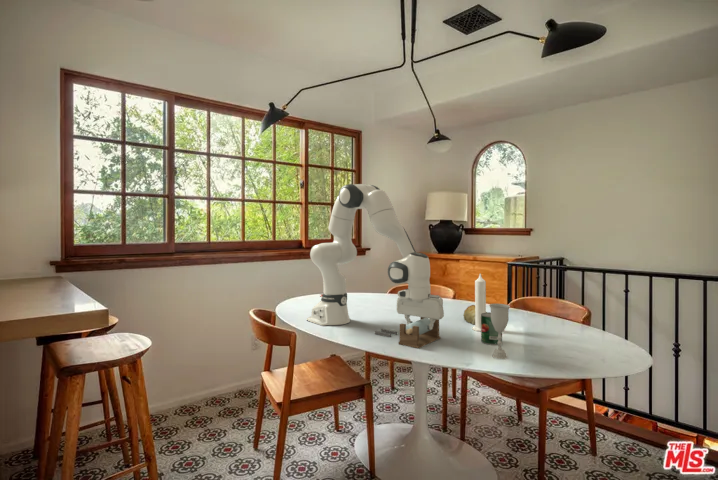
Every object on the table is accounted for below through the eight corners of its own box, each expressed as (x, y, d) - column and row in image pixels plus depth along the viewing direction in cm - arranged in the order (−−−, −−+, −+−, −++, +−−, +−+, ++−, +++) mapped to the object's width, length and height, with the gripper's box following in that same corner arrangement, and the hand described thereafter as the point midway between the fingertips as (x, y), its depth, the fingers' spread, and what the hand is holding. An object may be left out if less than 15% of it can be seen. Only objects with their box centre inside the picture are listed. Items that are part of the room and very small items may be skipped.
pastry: (468, 317, 199) (468, 301, 198) (493, 320, 192) (493, 304, 192) (459, 323, 187) (458, 306, 187) (485, 326, 180) (485, 309, 180)
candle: (490, 332, 171) (489, 274, 170) (473, 331, 172) (472, 274, 171) (488, 327, 178) (487, 272, 177) (471, 327, 179) (471, 272, 178)
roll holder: (418, 348, 150) (418, 327, 149) (398, 344, 156) (398, 324, 155) (440, 338, 163) (440, 319, 162) (421, 334, 169) (421, 316, 168)
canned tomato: (476, 340, 158) (476, 313, 158) (492, 338, 162) (492, 311, 161) (490, 346, 151) (490, 317, 151) (506, 343, 154) (506, 315, 154)
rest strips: (374, 334, 171) (374, 331, 171) (382, 331, 175) (382, 328, 175) (389, 337, 166) (389, 334, 166) (397, 334, 170) (397, 331, 170)
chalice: (486, 353, 142) (485, 303, 142) (504, 352, 143) (504, 303, 142) (494, 360, 135) (494, 308, 135) (514, 359, 136) (513, 307, 135)
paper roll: (425, 330, 167) (423, 317, 167) (436, 330, 163) (434, 316, 164) (403, 339, 154) (401, 324, 155) (415, 339, 151) (412, 324, 151)
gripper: (446, 294, 154) (446, 329, 155) (402, 289, 167) (403, 322, 168) (438, 297, 149) (438, 333, 150) (394, 291, 163) (394, 325, 163)
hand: (419, 327), depth 159 cm, fingers open, 8 cm apart
